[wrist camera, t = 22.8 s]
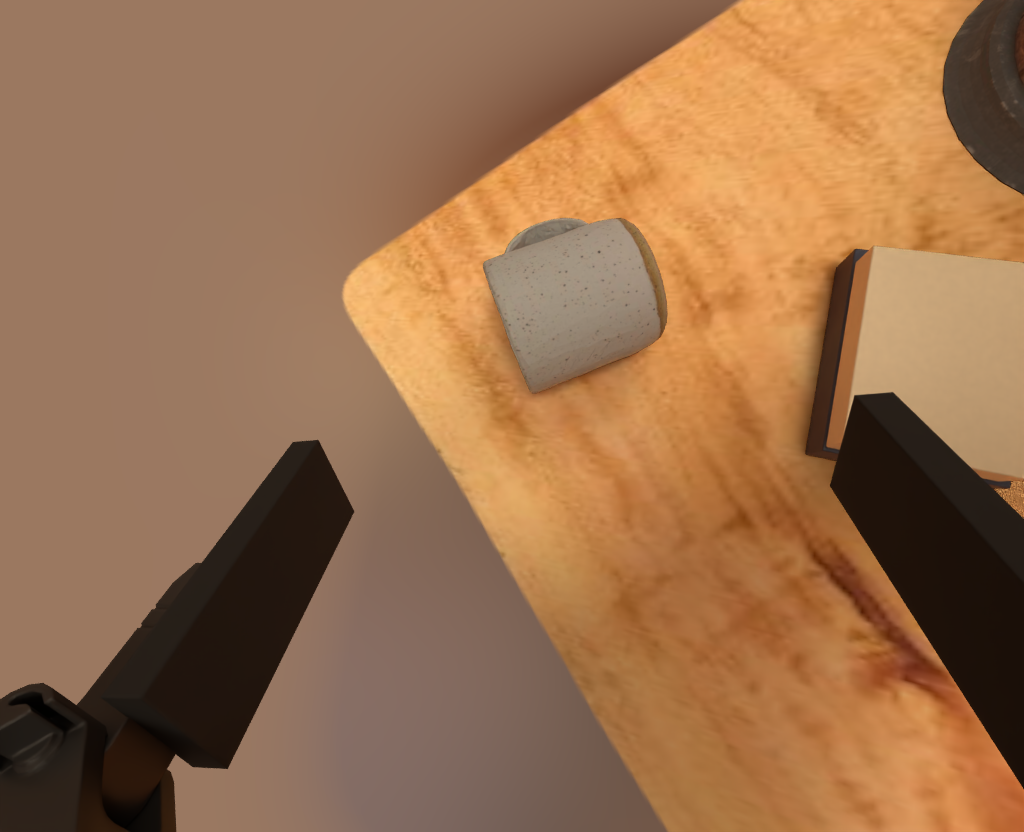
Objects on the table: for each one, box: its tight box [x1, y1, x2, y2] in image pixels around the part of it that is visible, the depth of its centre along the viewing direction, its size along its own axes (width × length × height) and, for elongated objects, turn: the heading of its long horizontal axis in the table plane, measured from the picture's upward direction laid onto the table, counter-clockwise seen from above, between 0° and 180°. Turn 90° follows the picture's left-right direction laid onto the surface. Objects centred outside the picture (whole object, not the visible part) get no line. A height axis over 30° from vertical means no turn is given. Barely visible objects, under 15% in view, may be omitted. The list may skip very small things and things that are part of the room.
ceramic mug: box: [483, 218, 667, 393], centre depth 26 cm, size 11×8×8 cm
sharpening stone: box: [806, 246, 1024, 489], centre depth 24 cm, size 11×8×4 cm
